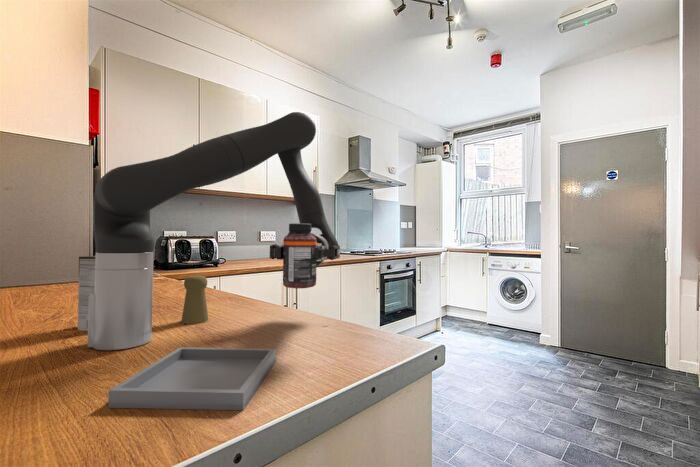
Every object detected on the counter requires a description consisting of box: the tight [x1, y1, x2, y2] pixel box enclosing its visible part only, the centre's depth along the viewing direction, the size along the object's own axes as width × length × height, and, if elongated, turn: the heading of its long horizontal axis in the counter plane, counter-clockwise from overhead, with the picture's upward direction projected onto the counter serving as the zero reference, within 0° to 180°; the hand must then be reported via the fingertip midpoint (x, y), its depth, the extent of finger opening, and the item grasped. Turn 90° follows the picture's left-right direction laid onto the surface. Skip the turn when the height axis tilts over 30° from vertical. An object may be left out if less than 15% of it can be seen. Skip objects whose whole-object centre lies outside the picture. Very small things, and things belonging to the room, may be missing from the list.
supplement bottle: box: [282, 222, 317, 289], centre depth 61 cm, size 6×6×11 cm
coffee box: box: [77, 255, 95, 332], centre depth 76 cm, size 9×6×16 cm
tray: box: [107, 346, 277, 411], centre depth 47 cm, size 16×16×2 cm
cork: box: [180, 274, 209, 325], centre depth 82 cm, size 6×6×11 cm
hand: (297, 253), depth 58 cm, fingers closed on supplement bottle, 6 cm apart
